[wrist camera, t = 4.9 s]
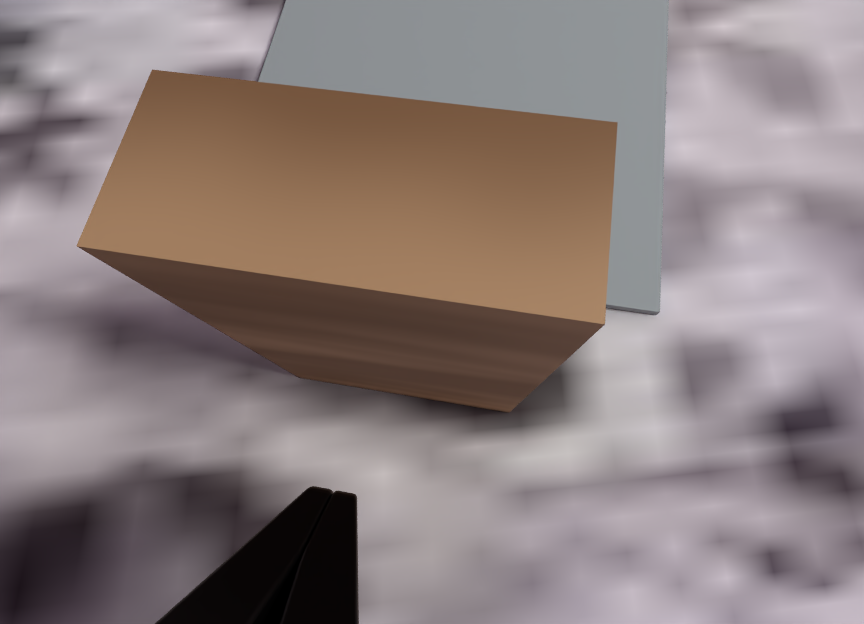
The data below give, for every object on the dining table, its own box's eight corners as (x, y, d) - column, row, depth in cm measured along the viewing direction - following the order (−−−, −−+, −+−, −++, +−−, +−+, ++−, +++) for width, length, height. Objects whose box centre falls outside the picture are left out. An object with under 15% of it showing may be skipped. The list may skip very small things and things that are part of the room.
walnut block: (509, 412, 15) (604, 324, 6) (298, 377, 16) (76, 246, 6) (519, 323, 16) (617, 122, 7) (319, 293, 17) (152, 70, 7)
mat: (656, 314, 16) (659, 312, 16) (205, 249, 18) (201, 246, 17) (665, 2, 20) (668, -5, 20) (300, -31, 22) (298, -38, 21)
